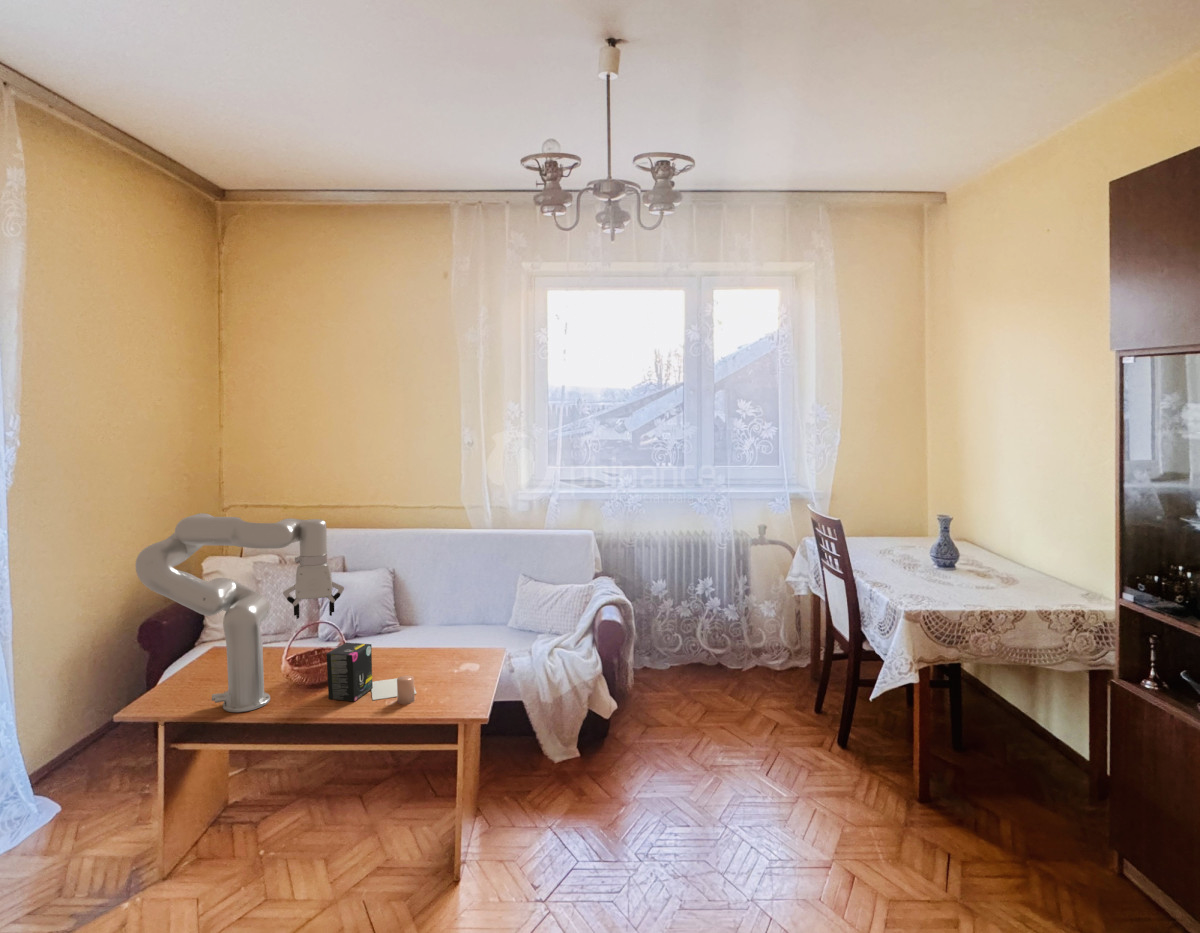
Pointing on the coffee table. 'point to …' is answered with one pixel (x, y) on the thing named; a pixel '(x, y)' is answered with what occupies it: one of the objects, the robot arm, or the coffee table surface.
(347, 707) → the coffee table surface
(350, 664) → the tampon box
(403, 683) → the peg
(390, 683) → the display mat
